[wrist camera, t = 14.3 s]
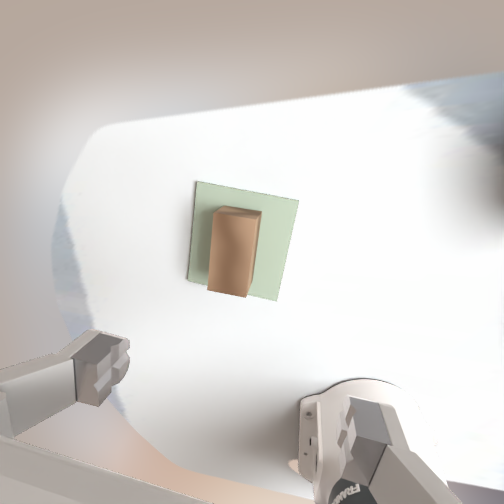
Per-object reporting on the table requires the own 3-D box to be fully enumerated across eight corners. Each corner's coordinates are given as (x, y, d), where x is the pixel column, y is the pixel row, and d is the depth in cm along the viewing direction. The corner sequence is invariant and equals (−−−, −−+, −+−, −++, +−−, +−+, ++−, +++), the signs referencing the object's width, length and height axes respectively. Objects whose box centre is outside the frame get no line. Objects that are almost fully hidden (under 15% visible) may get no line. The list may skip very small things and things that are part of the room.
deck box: (262, 211, 33) (256, 219, 29) (252, 281, 36) (245, 297, 32) (224, 205, 33) (213, 212, 29) (218, 274, 36) (207, 290, 32)
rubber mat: (277, 299, 37) (276, 301, 36) (189, 279, 38) (187, 280, 37) (298, 200, 32) (298, 201, 32) (198, 181, 33) (197, 181, 33)
